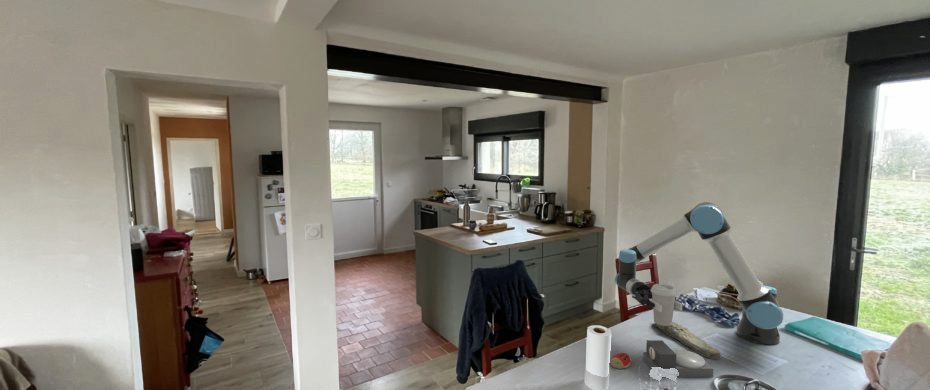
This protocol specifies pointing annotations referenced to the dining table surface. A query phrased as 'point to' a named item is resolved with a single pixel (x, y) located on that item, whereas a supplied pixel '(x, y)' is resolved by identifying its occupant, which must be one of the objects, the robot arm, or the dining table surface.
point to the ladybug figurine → (620, 361)
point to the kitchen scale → (676, 360)
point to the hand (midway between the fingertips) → (671, 308)
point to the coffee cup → (663, 303)
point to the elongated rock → (690, 340)
